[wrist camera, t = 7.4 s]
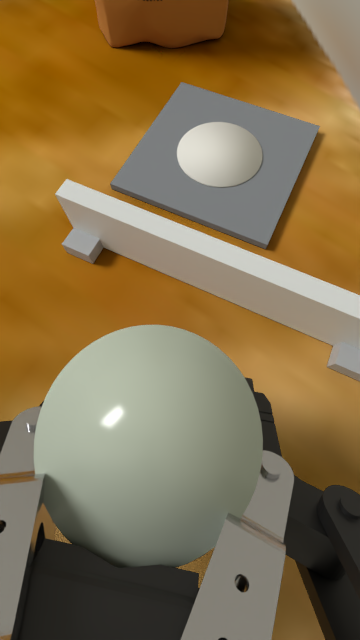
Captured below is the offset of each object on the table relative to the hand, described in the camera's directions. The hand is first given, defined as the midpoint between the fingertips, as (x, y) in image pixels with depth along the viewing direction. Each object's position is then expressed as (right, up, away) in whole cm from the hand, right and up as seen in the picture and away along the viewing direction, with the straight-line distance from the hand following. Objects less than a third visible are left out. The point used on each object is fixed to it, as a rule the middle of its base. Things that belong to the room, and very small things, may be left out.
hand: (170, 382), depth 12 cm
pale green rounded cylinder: (0, -3, +4) cm, 5 cm away
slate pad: (+3, +15, +10) cm, 18 cm away
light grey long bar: (+3, +5, +7) cm, 9 cm away
